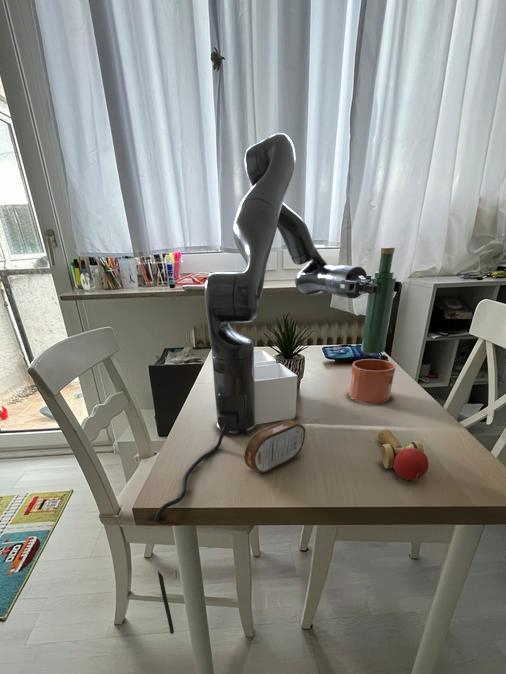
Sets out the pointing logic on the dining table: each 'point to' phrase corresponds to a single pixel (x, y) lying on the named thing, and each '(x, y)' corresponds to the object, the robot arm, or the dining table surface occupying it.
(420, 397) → the dining table surface
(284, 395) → the storage container
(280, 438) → the tin
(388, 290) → the bottle
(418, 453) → the kendama
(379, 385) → the plant pot
